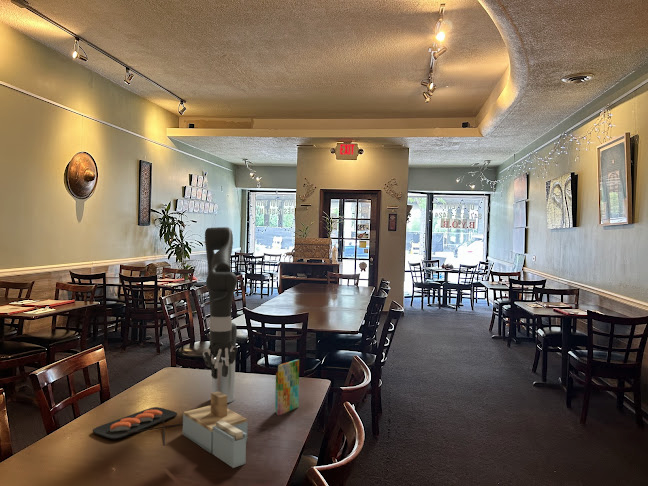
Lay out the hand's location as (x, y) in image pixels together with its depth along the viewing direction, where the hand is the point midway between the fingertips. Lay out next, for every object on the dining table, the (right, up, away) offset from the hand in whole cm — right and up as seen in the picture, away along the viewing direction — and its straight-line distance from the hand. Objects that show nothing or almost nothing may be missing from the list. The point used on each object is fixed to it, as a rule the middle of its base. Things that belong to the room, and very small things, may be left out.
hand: (219, 377), depth 165 cm
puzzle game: (+21, -22, +27) cm, 41 cm away
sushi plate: (-26, -21, +5) cm, 34 cm away
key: (+7, -13, -16) cm, 22 cm away
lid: (-1, -14, -1) cm, 14 cm away
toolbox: (+3, -21, -6) cm, 22 cm away
